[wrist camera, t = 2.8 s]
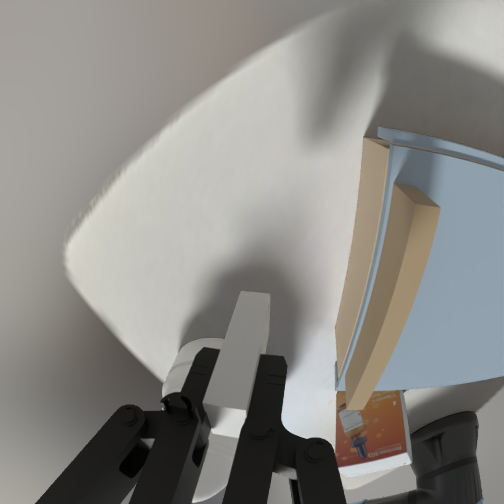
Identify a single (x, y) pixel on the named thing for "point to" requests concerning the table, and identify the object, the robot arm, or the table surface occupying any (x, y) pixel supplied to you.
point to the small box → (372, 434)
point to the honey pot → (219, 445)
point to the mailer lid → (432, 273)
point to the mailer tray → (365, 238)
